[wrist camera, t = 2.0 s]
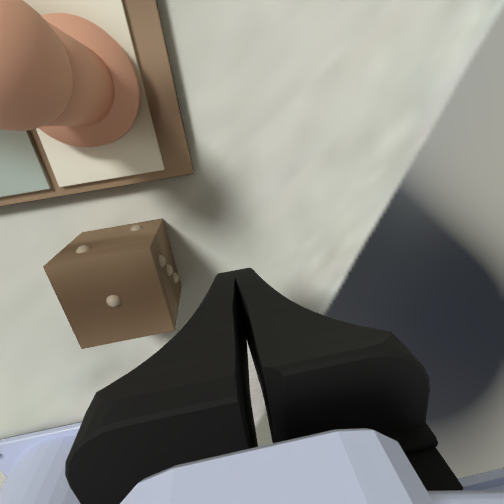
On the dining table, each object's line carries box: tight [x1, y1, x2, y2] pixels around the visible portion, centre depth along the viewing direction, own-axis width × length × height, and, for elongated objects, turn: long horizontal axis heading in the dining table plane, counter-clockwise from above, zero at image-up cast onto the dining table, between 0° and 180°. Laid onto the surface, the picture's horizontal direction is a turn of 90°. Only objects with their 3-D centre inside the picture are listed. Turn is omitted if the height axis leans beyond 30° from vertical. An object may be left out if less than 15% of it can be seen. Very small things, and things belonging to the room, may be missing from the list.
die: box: [43, 219, 181, 349], centre depth 14 cm, size 4×4×4 cm
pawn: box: [0, 0, 141, 147], centre depth 9 cm, size 4×4×7 cm
